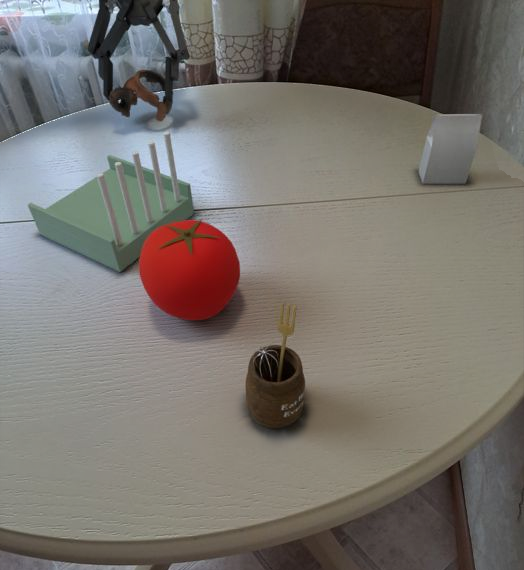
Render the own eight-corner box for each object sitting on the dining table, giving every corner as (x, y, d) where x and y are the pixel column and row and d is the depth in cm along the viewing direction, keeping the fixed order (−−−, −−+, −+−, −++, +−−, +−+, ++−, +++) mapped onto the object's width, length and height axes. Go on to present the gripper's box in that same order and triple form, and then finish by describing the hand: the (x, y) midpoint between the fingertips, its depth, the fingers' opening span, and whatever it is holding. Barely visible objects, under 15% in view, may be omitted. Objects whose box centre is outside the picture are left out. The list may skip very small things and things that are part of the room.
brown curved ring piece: (144, 100, 99) (158, 63, 93) (171, 136, 98) (188, 101, 92) (92, 103, 91) (104, 63, 85) (121, 142, 90) (136, 105, 84)
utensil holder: (237, 419, 51) (229, 342, 42) (262, 374, 55) (259, 294, 46) (291, 439, 50) (294, 363, 41) (312, 391, 53) (320, 312, 44)
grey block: (465, 183, 79) (485, 120, 72) (422, 183, 80) (438, 120, 72) (460, 171, 82) (479, 109, 74) (418, 171, 82) (433, 109, 74)
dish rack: (40, 234, 73) (3, 149, 63) (117, 183, 81) (95, 101, 72) (120, 272, 67) (93, 184, 57) (194, 213, 75) (182, 128, 66)
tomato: (259, 311, 62) (257, 241, 54) (174, 350, 58) (157, 281, 50) (213, 259, 68) (205, 191, 60) (134, 291, 64) (114, 222, 56)
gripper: (208, -19, 91) (205, 107, 92) (84, -19, 92) (83, 106, 93) (201, -49, 83) (198, 89, 85) (66, -49, 84) (66, 88, 86)
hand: (138, 98), depth 89 cm, fingers closed on brown curved ring piece, 10 cm apart
